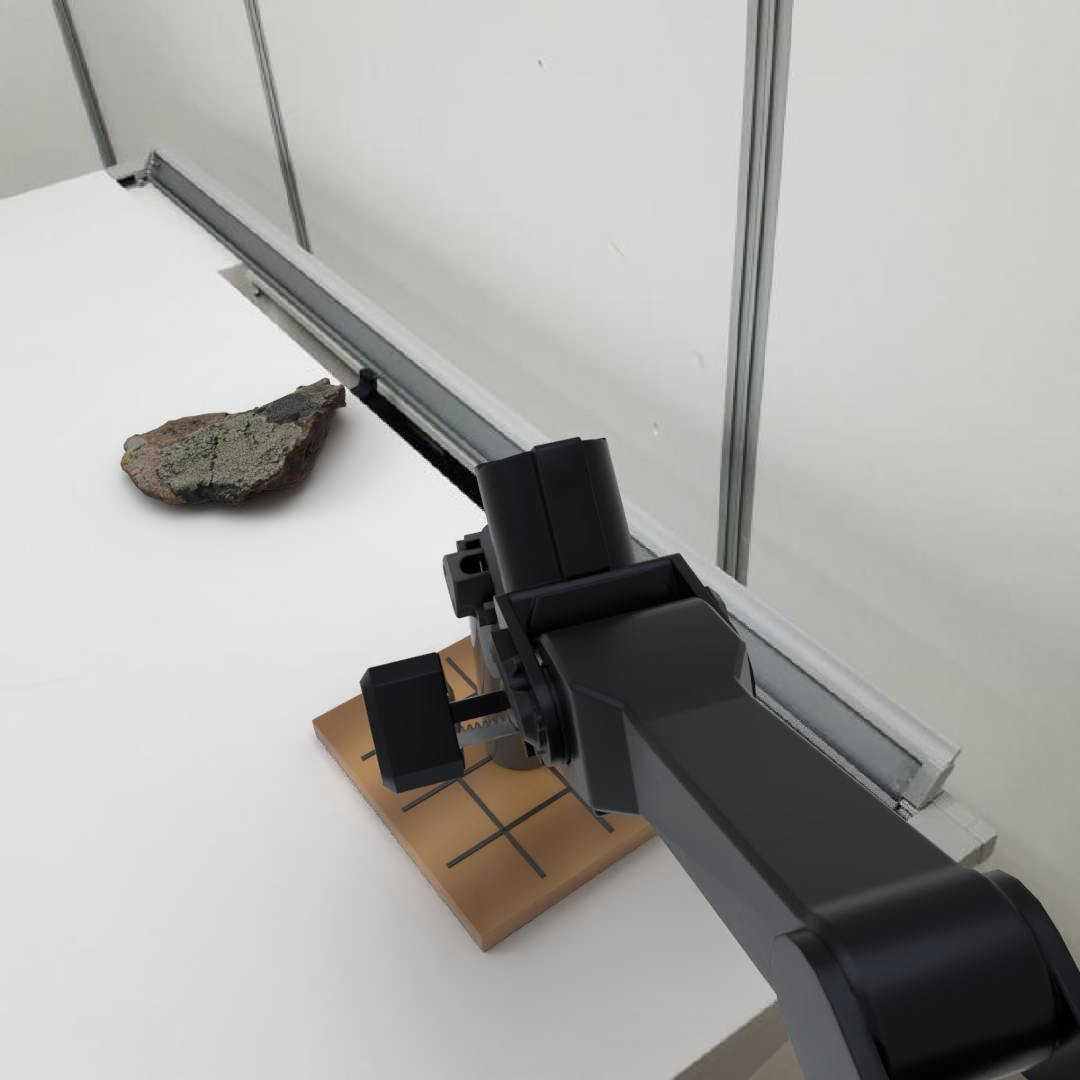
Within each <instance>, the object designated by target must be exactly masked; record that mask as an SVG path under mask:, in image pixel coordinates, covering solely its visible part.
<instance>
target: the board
mask: <svg viewBox="0 0 1080 1080" xmlns="http://www.w3.org/2000/svg"><path fill="white" fill-rule="evenodd" d="M436 653H439V655H440V659H441V662H442V665H443V669H444V672H445V675H446V679H447V682H448V683H449V685H450V686H451V688H452V689H453V691H454V695H455V699H456V701H457V700H461V699H465V698H469V697H473V696H477V695H478V689H477V681H476V673H475V665H474V657H473V649H472V641H471V633H470V634H469V635H467V636H465V637H463V638H461V639H459V640H457V641H456V642H454V643H452V644H450V645H448V646H446V647H444V648H443V649H440V650H438V651H436ZM311 722H312V726H313V730H314V733H315V736H316V737H317V738H318V740H319V741H320V743H321V744H322V745H323V746H324V748H325V749H326V751H328V752H329V754H330V755H331V757H332V758H333V759H334V761H335V762H336V763H337V764H338V765H339V767H340V768H341V770H342V771H343V772H344V773H345V776H347V778H348V779H349V780H350V781H351V783H352V784H353V785H354V787H355V788H356V789H357V791H358V792H359V793H360V794H361V795H362V797H363V798H364V800H366V802H367V804H369V806H370V807H371V809H372V810H373V811H374V812H375V814H376V815H377V816H378V818H379V819H380V820H381V822H382V823H383V825H385V827H386V828H387V830H388V831H389V832H390V833H391V835H392V836H393V838H395V840H396V841H397V842H398V844H399V845H400V847H401V848H402V849H403V850H404V851H405V853H406V854H407V855H408V857H409V858H410V859H411V861H412V863H414V864H415V866H416V867H417V868H418V870H419V871H420V872H421V873H422V875H423V876H424V877H425V879H426V880H427V881H428V883H429V884H430V886H431V887H432V888H433V889H434V891H435V892H436V893H437V894H438V896H439V897H440V898H441V900H442V901H443V903H445V905H446V906H447V907H448V909H449V910H450V911H451V912H452V914H453V915H454V916H455V918H456V919H457V920H458V921H459V923H460V924H461V925H462V928H464V929H465V931H466V932H467V933H468V935H469V936H470V938H472V940H473V941H474V942H475V944H476V945H477V946H478V948H479V949H480V950H481V951H482V952H483V953H486V952H487V951H488V950H490V949H491V948H493V947H494V946H495V945H497V944H498V943H500V942H501V941H503V940H504V939H506V938H507V937H508V936H511V934H513V933H514V932H516V931H517V930H519V929H521V928H522V927H523V926H524V925H526V924H528V923H529V922H530V921H531V920H534V918H536V917H538V916H539V915H541V914H542V913H544V912H545V911H546V910H548V909H549V908H550V907H552V906H554V905H556V904H557V903H558V902H560V901H561V900H562V899H564V898H565V897H567V896H568V895H570V894H571V893H573V892H574V891H576V890H578V889H579V888H580V887H582V886H583V885H584V884H586V883H587V882H589V881H590V880H591V879H594V878H595V877H596V876H597V875H599V874H600V873H602V872H603V871H604V870H606V869H608V868H609V867H611V866H612V865H613V864H615V863H617V862H618V861H619V860H621V859H623V858H624V857H626V856H627V855H628V854H630V853H631V852H633V851H634V850H635V849H637V848H638V847H640V846H642V845H643V844H644V843H645V842H647V841H648V840H650V839H651V838H653V837H655V836H656V835H657V834H658V833H657V832H656V831H655V829H654V828H653V826H652V825H651V824H650V823H649V822H648V821H647V820H646V819H645V818H643V817H636V816H629V815H622V814H615V813H612V814H609V815H605V816H601V817H596V816H595V815H594V814H593V811H592V808H591V807H590V806H589V805H588V804H587V803H586V802H585V801H584V800H583V799H582V798H581V797H580V796H579V794H578V793H577V792H576V791H575V790H574V789H573V788H572V787H571V786H570V784H569V783H568V781H567V779H566V778H565V776H564V774H563V772H562V770H561V767H560V765H556V766H552V767H547V766H546V765H545V764H543V765H541V766H539V767H536V768H532V769H526V770H516V769H510V768H507V767H504V766H502V765H500V764H498V763H497V762H495V761H494V760H493V759H492V758H491V757H490V756H489V754H488V753H487V751H486V749H485V745H484V742H481V743H477V744H474V745H470V746H466V747H463V748H464V757H465V767H466V768H465V769H464V774H465V776H463V777H460V778H456V779H452V780H448V781H444V782H441V783H437V784H433V785H429V786H425V787H422V788H418V789H414V790H410V791H406V792H403V793H399V794H397V793H395V792H393V791H392V790H390V789H389V788H387V787H386V786H384V785H383V783H382V779H381V774H380V770H379V766H378V761H377V757H376V752H375V748H374V744H373V739H372V735H371V731H370V726H369V722H368V717H367V713H366V709H365V704H364V700H363V695H362V692H361V693H359V694H357V695H356V696H353V697H352V698H350V699H348V700H346V701H344V702H342V703H341V704H339V705H337V706H334V707H333V708H331V709H330V710H328V711H326V712H324V713H322V714H320V715H319V716H316V717H315V718H313V719H311ZM475 722H479V724H480V726H481V727H482V721H481V717H479V718H475V719H471V720H467V721H463V722H461V726H463V727H464V729H465V730H466V731H467V726H468V724H471V726H472V727H473V729H474V728H475Z"/></svg>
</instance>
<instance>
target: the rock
mask: <svg viewBox="0 0 1080 1080" xmlns="http://www.w3.org/2000/svg"><path fill="white" fill-rule="evenodd" d="M346 391H347V390H346V388H345V385H343V384H342V383H339V384H337V385H335V384H331V380H330V378H329V377H328V378H327V377H323V378H321V379H320V380H317V381H315V382H313V383H311V384H309V385H299V386H297V387H296V389H295V390H294V391H293V392H291V393H287V394H286V395H284V396H282V397H280V398H277V399H275V400H273V401H270V402H268V403H266V404H263V405H261V406H259V407H258V406H255V407H254V408H252V409H248V410H245V411H240V412H235V413H230V412H226V411H221V412H208V413H202V414H201V413H200V414H197V415H190V416H189V415H188V416H183V417H180V418H177V419H172V420H171V419H170V420H167V421H166V422H165V423H164V424H162V425H159V426H158V427H157V428H154V429H152V430H149V431H146V432H143V433H141V434H137V433H135V434H133V435H132V436H129V437H127V438H126V439H125V441H124V443H123V446H122V447H123V450H124V451H125V452H124V453H123V456H122V458H121V460H120V462H119V464H120V467H121V470H122V471H124V472H125V474H127V475H128V477H129V479H130V480H131V481H132V483H133V484H134V486H135V487H136V488H137V489H138V491H140V492H141V493H143V494H144V495H145V496H147V497H149V498H150V499H151V498H152V499H153V500H157V501H161V502H164V503H166V504H168V505H170V506H171V505H172V506H173V505H178V504H192V505H197V504H201V503H205V502H206V503H207V502H209V501H216V502H218V503H220V504H224V505H227V506H231V507H235V508H240V507H242V506H243V505H245V504H246V503H247V501H248V500H250V498H251V497H253V496H255V495H257V494H259V493H261V492H266V491H269V490H281V489H285V488H286V489H287V488H293V487H297V486H299V485H300V484H301V482H302V481H303V480H304V478H306V476H307V475H308V474H309V473H311V470H312V467H313V466H314V463H315V461H316V459H317V457H318V454H319V452H320V450H321V448H322V446H323V445H324V443H325V441H326V440H327V437H328V435H329V427H330V424H331V423H332V419H333V417H334V410H336V409H343V408H346V407H347V402H346V398H347V397H346V394H347V392H346Z"/></svg>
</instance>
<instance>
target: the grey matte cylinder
mask: <svg viewBox="0 0 1080 1080" xmlns="http://www.w3.org/2000/svg"><path fill="white" fill-rule="evenodd" d="M467 618H468V624H469V632H470V634H471V641H472V649H473V657H474V665H475V673H476V681H477V689H478V695H481V694H485V693H489V692H493V691H497V690H500V684H501V677H500V674H499V671H498V668H497V665H496V663H495V664H494V663H493V661H492V657H491V653H490V649H489V644H488V640H487V638H488V637H490V632H491V628H490V625H488V626H486V625H485V626H483V627H479V626H478V623H477V620H476V618H475V617H473V616H468V617H467ZM506 714H507V713H506V711H503V712H499V713H495V714H491V715H487V716H483V717H481V721H482V726H483V720H486V721H487V722H488V724H489V725H490V722H491V718H494V719H495V721H496V722H497V723H498V717H499V716H502V718H503V719H504V721H506ZM484 745H485V749H486V751H487V753H488V754H489V756H490V757H491V758H492V759H493V760H494V761H495V762H497V763H498V764H500V765H502V766H504V767H507V768H510V769H516V770H526V769H532V768H536V767H539V766H541V765H543V764H541V763H539V761H538V757H537V756H532V757H529V758H528V757H526V756H525V753H524V748H523V744H522V740H521V736H520V733H516V734H512V735H508V736H504V737H501V738H497V739H493V740H489V741H485V742H484Z"/></svg>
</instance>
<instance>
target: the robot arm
mask: <svg viewBox="0 0 1080 1080" xmlns="http://www.w3.org/2000/svg"><path fill="white" fill-rule="evenodd" d="M474 473H475V476H476V480H477V484H478V489H479V493H480V497H481V502H482V505H483V510H484V514H485V519H486V523H487V524H486V525H485V526H484V527H483V528H482V529H481V530H480V531H477V532H473V533H468V534H464V535H463V539H459V540H456V541H455V546H456V552H455V551H454V552H452V553H447V554H444V555H443V557H442V571H443V576H444V580H445V584H446V588H447V591H448V595H449V598H450V602H451V605H452V609H453V613H454V615H455V617H456V618H457V619H463V618H469V617H468V616H473V617H475V618H476V620H477V623H478V626H479V627H483V626H485V625H486V626H488V625H490V628H491V632H490V637H488V638H487V640H488V644H489V649H490V653H491V657H492V661H493V663H494V664H495V663H496V665H497V668H498V671H499V674H500V677H501V684H500V690H497V691H493V692H489V693H485V694H481V695H477V696H473V697H469V698H465V699H461V700H457V701H456V699H455V695H454V691H453V689H452V688H451V686H450V685H449V683H448V682H447V679H446V675H445V672H444V669H443V665H442V662H441V659H440V655H439V653H437V651H433V652H429V653H424V654H420V655H416V656H412V657H408V658H403V659H399V660H396V661H391V662H387V663H383V664H379V665H375V666H374V665H373V666H371V667H367V669H366V670H365V672H364V673H363V675H362V677H361V678H360V680H359V686H360V690H361V693H362V695H363V700H364V704H365V709H366V713H367V717H368V722H369V726H370V731H371V735H372V739H373V744H374V748H375V752H376V757H377V761H378V766H379V770H380V774H381V779H382V783H383V785H384V786H386V787H387V788H389V789H390V790H392V791H393V792H395V793H397V794H399V793H403V792H406V791H410V790H414V789H418V788H422V787H425V786H429V785H433V784H437V783H441V782H444V781H448V780H452V779H456V778H460V777H463V776H465V774H464V769H465V768H466V767H465V757H464V748H463V747H466V746H470V745H474V744H477V743H481V742H485V741H489V740H493V739H497V738H501V737H504V736H508V735H512V734H516V733H520V736H521V740H522V744H523V748H524V753H525V756H526V757H528V758H529V757H532V756H537V757H538V761H539V763H541V764H545V765H546V766H547V767H552V766H556V765H560V767H561V770H562V772H563V774H564V776H565V778H566V779H567V781H568V783H569V784H570V786H571V787H572V788H573V789H574V790H575V791H576V792H577V793H578V794H579V796H580V797H581V798H582V799H583V800H584V801H585V802H586V803H587V804H588V805H589V806H590V807H591V808H592V811H593V814H594V815H595V816H596V817H601V816H605V815H609V814H612V813H615V814H622V815H629V816H636V817H643V818H645V819H646V820H647V821H648V822H649V823H650V824H651V825H652V826H653V828H654V829H655V831H656V832H657V834H658V836H659V838H660V839H661V840H662V842H663V843H664V844H665V846H666V847H667V848H668V850H669V851H670V852H671V854H672V855H673V856H674V858H675V859H676V860H677V862H678V863H679V865H680V866H681V867H682V869H683V870H684V871H685V872H686V874H687V876H688V877H689V878H690V879H691V881H692V882H693V884H694V885H695V886H696V888H697V889H698V891H699V892H700V893H701V894H702V896H703V897H704V899H705V900H706V901H707V902H708V904H709V905H710V907H711V908H712V909H713V911H714V912H715V913H716V915H717V916H718V917H719V919H720V920H721V921H722V924H724V926H725V927H726V928H727V930H728V931H729V932H730V934H731V935H732V937H733V938H734V940H736V943H738V944H739V946H740V947H741V949H742V950H743V951H744V953H745V954H746V956H747V957H748V958H749V960H750V961H751V962H752V964H753V965H754V966H755V968H756V969H757V971H758V972H759V973H760V974H761V976H762V977H763V978H764V980H765V981H766V983H767V984H768V985H769V987H770V988H771V989H772V991H773V992H774V993H775V995H776V999H777V1005H778V1008H779V1010H780V1014H781V1017H782V1021H783V1023H784V1026H785V1029H786V1032H787V1035H788V1038H789V1042H790V1043H791V1046H792V1049H793V1051H794V1053H795V1057H796V1060H797V1062H798V1065H799V1068H800V1070H801V1072H802V1075H803V1078H804V1080H1002V1079H1006V1078H1008V1077H1011V1076H1013V1075H1017V1074H1020V1075H1022V1077H1024V1078H1025V1079H1026V1080H1080V969H1079V967H1078V965H1077V964H1076V962H1075V960H1074V957H1073V955H1072V954H1071V952H1070V950H1069V948H1068V946H1067V944H1066V941H1065V940H1064V939H1063V936H1062V934H1061V933H1060V931H1059V929H1058V928H1057V926H1056V924H1055V923H1054V921H1053V920H1052V918H1051V917H1050V915H1049V914H1048V912H1047V910H1046V909H1045V907H1044V906H1043V904H1042V902H1041V901H1040V899H1039V898H1037V896H1036V895H1034V893H1032V891H1031V890H1029V889H1028V887H1027V886H1026V885H1025V884H1024V883H1023V882H1022V881H1021V880H1020V879H1019V878H1017V877H1016V876H1013V875H1011V874H1009V873H1007V872H1005V871H1004V870H1001V869H999V868H997V869H992V870H988V871H984V872H983V871H982V872H979V871H978V870H976V869H975V868H971V867H968V866H966V865H963V864H961V863H959V862H958V861H956V859H954V858H953V857H952V856H950V855H949V854H948V853H947V852H946V851H945V850H943V849H942V848H940V847H939V845H937V844H935V842H934V841H932V840H931V839H929V838H928V837H927V836H926V835H925V834H923V833H922V832H921V831H920V830H918V829H917V828H916V827H915V826H913V825H912V824H911V823H910V822H909V821H907V820H906V819H905V818H903V817H902V816H901V815H900V814H898V813H897V812H896V811H895V810H894V809H893V808H892V807H890V806H889V805H887V804H886V803H885V802H883V800H882V799H880V798H879V797H877V795H875V794H874V793H872V792H871V791H870V790H869V789H868V788H867V787H865V786H864V785H863V784H861V783H860V782H859V781H858V780H857V779H855V778H854V777H853V776H851V774H849V773H848V772H847V771H845V770H844V769H843V768H842V767H841V766H839V765H838V764H837V763H836V762H834V761H833V760H832V759H831V758H829V756H827V755H826V754H824V753H823V752H822V751H821V750H820V749H818V748H817V747H816V746H815V745H813V743H811V742H810V741H808V740H807V739H806V738H805V737H803V736H802V735H801V734H800V733H798V732H797V731H796V730H795V729H793V727H791V726H790V725H789V724H788V723H786V722H785V721H784V720H783V719H781V718H780V717H779V716H777V715H776V714H775V713H774V712H772V711H771V710H770V709H769V708H768V707H766V705H764V704H762V703H761V702H760V701H759V700H758V699H757V688H756V687H757V686H756V681H755V679H756V678H755V673H754V669H753V666H752V662H751V659H750V655H749V653H748V650H747V643H746V642H745V639H743V638H742V637H741V636H740V634H739V632H738V630H737V629H736V627H735V626H734V625H733V623H732V622H731V621H730V617H729V613H728V608H727V606H726V603H725V602H724V600H723V598H722V597H721V595H720V594H719V593H718V592H716V591H715V590H714V589H713V588H711V587H710V586H708V585H706V586H705V585H704V584H703V582H702V581H701V580H700V579H699V577H698V576H697V574H696V573H695V572H694V570H693V569H692V567H691V566H690V564H689V563H688V562H687V560H686V559H685V558H684V557H683V555H682V554H681V553H680V552H675V553H671V554H667V555H662V556H658V557H654V558H650V559H646V560H645V559H644V560H640V561H637V557H636V553H635V552H636V551H635V549H634V545H633V540H632V536H631V532H630V528H629V524H628V520H627V516H626V512H625V509H624V508H625V507H624V504H623V499H622V496H621V492H620V488H619V484H618V480H617V476H616V471H615V468H614V464H613V459H612V455H611V451H610V447H609V442H608V441H607V437H599V438H591V439H582V437H580V436H574V437H570V438H564V439H561V440H556V441H551V442H546V443H542V444H536V445H534V446H533V447H532V448H531V449H530V450H527V451H524V452H521V453H517V454H513V455H510V456H507V457H504V458H500V459H496V460H492V461H491V460H490V461H487V462H482V463H478V464H477V465H476V466H474ZM503 711H506V713H507V714H506V721H504V719H503V718H502V716H499V717H498V723H497V722H496V721H495V719H494V718H491V722H490V725H489V724H488V722H487V721H486V720H483V726H482V727H481V726H480V724H479V722H475V728H474V729H473V727H472V726H471V724H468V726H467V731H466V730H465V729H464V727H463V726H461V722H463V721H467V720H471V719H475V718H479V717H483V716H487V715H491V714H495V713H499V712H503Z"/></svg>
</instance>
